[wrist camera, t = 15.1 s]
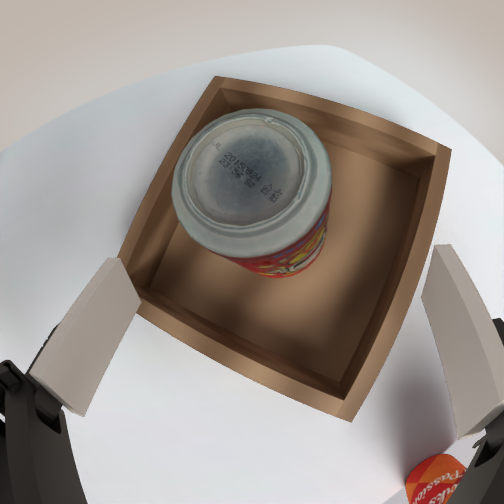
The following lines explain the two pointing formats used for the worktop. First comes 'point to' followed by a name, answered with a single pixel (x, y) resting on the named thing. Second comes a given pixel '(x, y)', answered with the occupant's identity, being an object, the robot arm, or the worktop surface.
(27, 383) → the robot arm
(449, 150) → the walnut box
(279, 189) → the soda can
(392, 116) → the worktop surface
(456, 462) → the paper cup
